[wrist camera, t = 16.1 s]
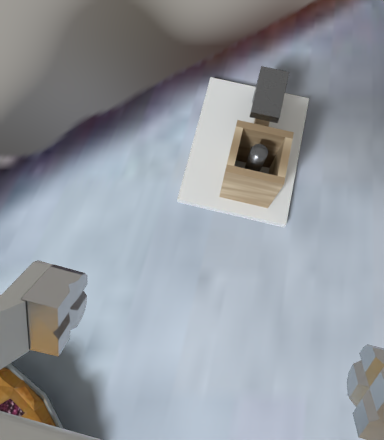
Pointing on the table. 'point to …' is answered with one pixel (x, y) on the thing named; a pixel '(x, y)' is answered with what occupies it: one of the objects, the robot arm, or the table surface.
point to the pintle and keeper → (266, 108)
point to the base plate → (221, 144)
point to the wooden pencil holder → (276, 162)
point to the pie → (25, 398)
